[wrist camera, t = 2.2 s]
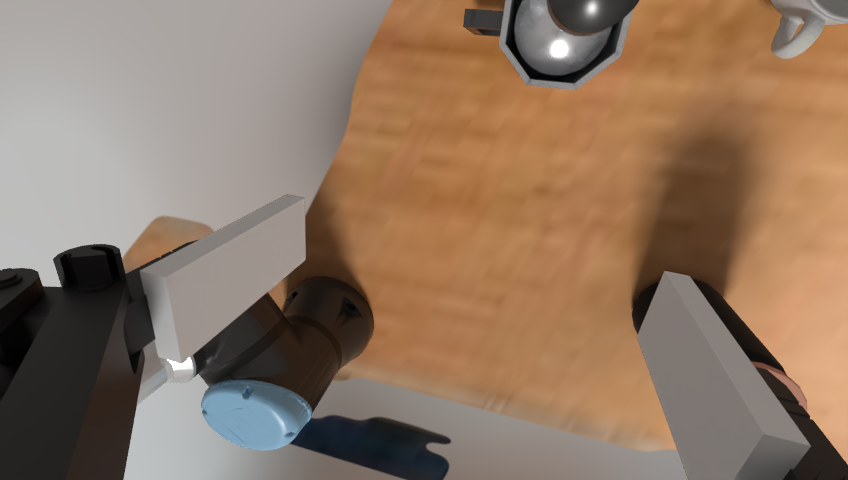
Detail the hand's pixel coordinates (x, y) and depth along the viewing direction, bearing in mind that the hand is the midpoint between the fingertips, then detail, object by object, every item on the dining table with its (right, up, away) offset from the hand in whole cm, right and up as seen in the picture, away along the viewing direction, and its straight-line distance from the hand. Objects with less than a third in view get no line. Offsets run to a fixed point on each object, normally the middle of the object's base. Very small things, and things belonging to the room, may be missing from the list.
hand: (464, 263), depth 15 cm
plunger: (+11, +20, +20) cm, 30 cm away
